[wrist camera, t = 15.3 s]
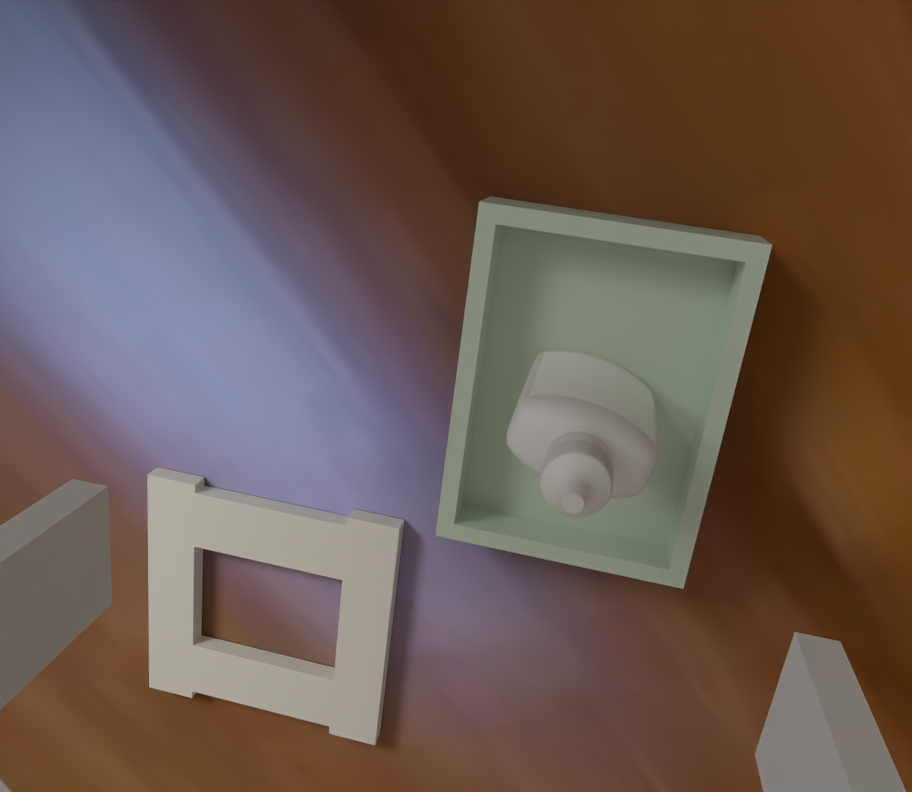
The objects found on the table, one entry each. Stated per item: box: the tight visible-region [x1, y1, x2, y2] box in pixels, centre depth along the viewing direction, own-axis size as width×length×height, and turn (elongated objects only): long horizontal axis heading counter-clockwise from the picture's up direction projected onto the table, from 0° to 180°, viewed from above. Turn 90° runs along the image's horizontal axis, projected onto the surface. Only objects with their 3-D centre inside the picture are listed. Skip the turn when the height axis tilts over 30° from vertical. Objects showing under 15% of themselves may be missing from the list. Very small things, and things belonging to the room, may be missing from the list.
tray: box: [435, 196, 772, 589], centre depth 35 cm, size 12×16×3 cm
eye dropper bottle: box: [506, 350, 659, 518], centre depth 30 cm, size 4×6×12 cm
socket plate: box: [148, 467, 405, 745], centre depth 44 cm, size 14×14×1 cm
